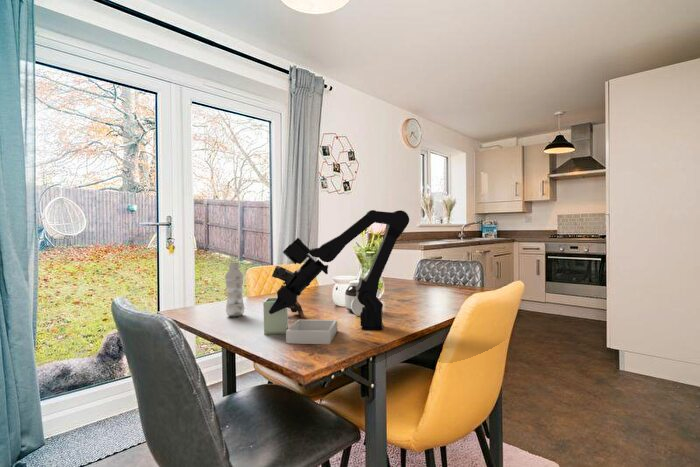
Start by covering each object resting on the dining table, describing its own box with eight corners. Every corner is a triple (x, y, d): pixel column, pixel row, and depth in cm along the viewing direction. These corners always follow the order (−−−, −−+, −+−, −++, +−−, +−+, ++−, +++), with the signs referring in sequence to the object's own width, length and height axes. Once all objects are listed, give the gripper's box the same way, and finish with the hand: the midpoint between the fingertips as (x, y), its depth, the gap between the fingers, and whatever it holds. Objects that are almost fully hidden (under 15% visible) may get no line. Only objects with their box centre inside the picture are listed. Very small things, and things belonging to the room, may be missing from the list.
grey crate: (337, 331, 111) (337, 319, 111) (330, 344, 98) (329, 331, 98) (298, 330, 112) (297, 319, 112) (286, 343, 100) (285, 330, 100)
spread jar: (361, 307, 143) (361, 278, 143) (381, 312, 134) (381, 281, 134) (338, 312, 135) (337, 282, 135) (357, 318, 126) (357, 285, 126)
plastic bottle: (241, 318, 129) (240, 263, 129) (223, 318, 129) (221, 263, 129) (247, 314, 136) (245, 261, 135) (229, 314, 136) (228, 262, 135)
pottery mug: (303, 321, 125) (291, 302, 123) (281, 332, 127) (268, 314, 125) (308, 305, 136) (297, 288, 135) (288, 315, 138) (277, 298, 136)
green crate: (287, 327, 115) (287, 297, 115) (285, 333, 109) (284, 301, 109) (267, 328, 115) (266, 298, 115) (264, 334, 108) (263, 302, 108)
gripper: (290, 254, 121) (258, 288, 120) (284, 259, 102) (246, 299, 102) (313, 277, 122) (281, 310, 121) (311, 286, 103) (274, 325, 102)
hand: (271, 310), depth 112 cm, fingers closed on green crate, 6 cm apart
